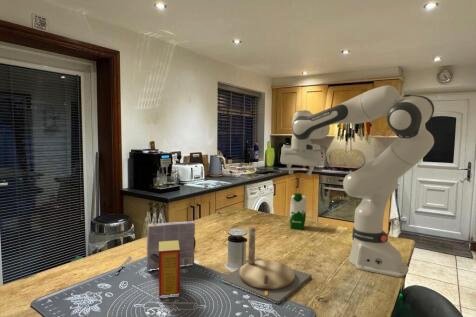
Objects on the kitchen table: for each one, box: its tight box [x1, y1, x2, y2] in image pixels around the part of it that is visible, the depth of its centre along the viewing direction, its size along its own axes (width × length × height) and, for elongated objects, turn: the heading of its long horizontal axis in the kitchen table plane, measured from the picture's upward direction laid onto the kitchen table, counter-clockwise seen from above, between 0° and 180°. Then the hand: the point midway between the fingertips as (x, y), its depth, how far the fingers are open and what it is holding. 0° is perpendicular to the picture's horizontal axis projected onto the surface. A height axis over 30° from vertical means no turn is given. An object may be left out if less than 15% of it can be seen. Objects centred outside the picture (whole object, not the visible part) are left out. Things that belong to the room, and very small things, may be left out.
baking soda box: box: [158, 240, 181, 296], centre depth 104 cm, size 10×6×16 cm
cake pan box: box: [146, 220, 197, 271], centre depth 123 cm, size 19×5×18 cm, turn 111°
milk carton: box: [289, 192, 307, 231], centre depth 177 cm, size 9×9×20 cm
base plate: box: [220, 257, 312, 303], centre depth 114 cm, size 24×24×1 cm
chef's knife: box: [120, 255, 133, 267], centre depth 125 cm, size 19×1×3 cm
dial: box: [240, 226, 295, 289], centre depth 113 cm, size 20×20×16 cm
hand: (299, 174), depth 148 cm, fingers open, 8 cm apart
